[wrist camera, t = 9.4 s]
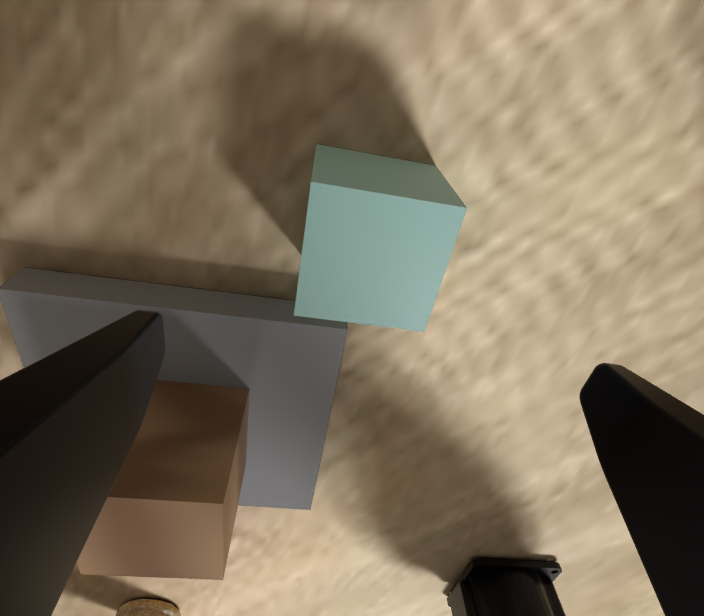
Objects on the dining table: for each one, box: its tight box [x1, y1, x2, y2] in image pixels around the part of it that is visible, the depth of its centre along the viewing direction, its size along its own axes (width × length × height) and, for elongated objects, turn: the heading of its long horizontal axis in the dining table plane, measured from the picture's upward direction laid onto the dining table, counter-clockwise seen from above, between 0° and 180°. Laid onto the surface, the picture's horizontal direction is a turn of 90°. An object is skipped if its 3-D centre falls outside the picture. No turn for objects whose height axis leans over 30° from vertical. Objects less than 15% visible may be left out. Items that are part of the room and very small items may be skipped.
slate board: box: [0, 268, 348, 510], centre depth 19 cm, size 12×12×2 cm
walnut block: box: [76, 380, 250, 580], centre depth 16 cm, size 5×5×5 cm
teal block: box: [294, 144, 467, 332], centre depth 13 cm, size 4×4×4 cm
